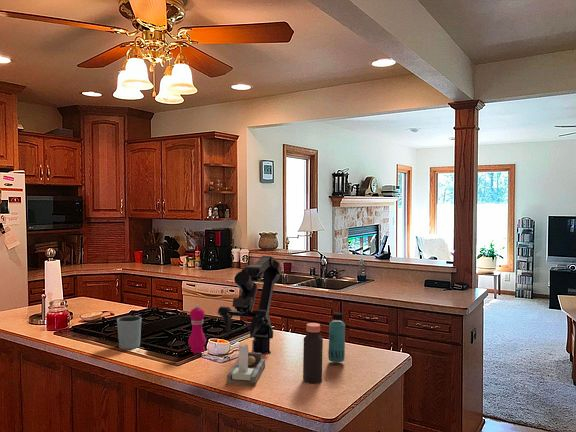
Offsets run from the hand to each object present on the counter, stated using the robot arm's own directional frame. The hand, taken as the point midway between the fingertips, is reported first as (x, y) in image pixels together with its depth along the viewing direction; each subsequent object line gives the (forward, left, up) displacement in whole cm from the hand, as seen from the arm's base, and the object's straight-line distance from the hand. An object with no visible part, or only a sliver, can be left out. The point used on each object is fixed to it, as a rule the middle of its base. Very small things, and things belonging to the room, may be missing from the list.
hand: (238, 336), depth 175 cm
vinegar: (-24, +12, -14) cm, 31 cm away
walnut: (-5, -4, -12) cm, 14 cm away
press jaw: (0, +7, -12) cm, 14 cm away
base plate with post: (-3, +2, -14) cm, 14 cm away
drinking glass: (+39, -44, -14) cm, 60 cm away
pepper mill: (+12, -29, -14) cm, 34 cm away
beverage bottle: (-39, -2, -14) cm, 42 cm away
